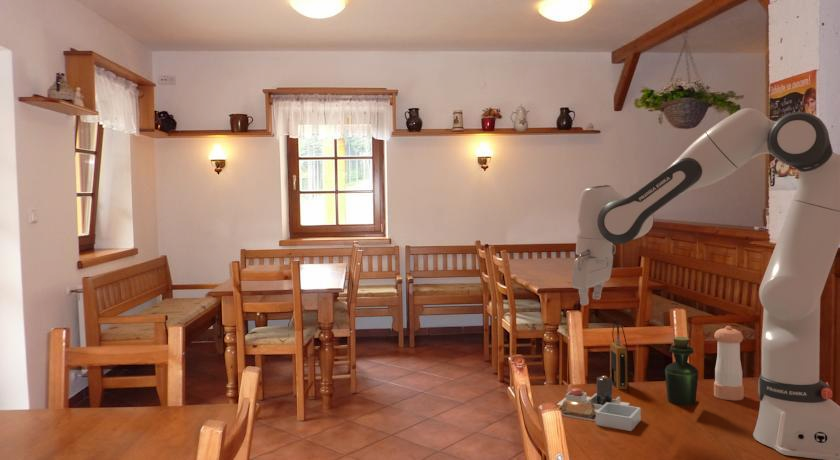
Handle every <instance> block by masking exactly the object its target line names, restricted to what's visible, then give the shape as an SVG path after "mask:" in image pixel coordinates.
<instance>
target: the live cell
mask: <svg viewBox="0 0 840 460" xmlns="http://www.w3.org/2000/svg"><path fill="white" fill-rule="evenodd" d="M561 413H562V414H567V415H573V416H579V417H584V418H590V419H592V417H594V415H596V413H595V407H594V405H593V404H588V403H582V402H576V401H570V400H564V402H563V404H562V408H561Z"/></svg>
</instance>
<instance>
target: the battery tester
mask: <svg viewBox="0 0 840 460" xmlns="http://www.w3.org/2000/svg"><path fill="white" fill-rule="evenodd" d="M564 400H570V401H576V402H582V403H588V404H593V405H594V407H595V411H598V410H599V409H600V408H601V407H602V406H603V405H599V404H597V392H596V393H594V394H593V395H592V396H588V394H587V392H584V391H582V395H581V396H574V395H571V390H570V391H568V392H567V393H565V397H564V398H563V399H562V400H560V401H559V402H558V403H556V405H557V406H560V405H562V404H563V402H564ZM612 403H615V404H621V405H627V406H630V404H631V403H630V402H626V401H625V402H624V401H621V396H617V397H615V399H614V398H612Z"/></svg>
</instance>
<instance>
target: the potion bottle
mask: <svg viewBox="0 0 840 460" xmlns="http://www.w3.org/2000/svg"><path fill="white" fill-rule="evenodd" d="M689 341H690V338H689V337H686V336H674V337H673V342H674V345H671V346H670V348H669V351H668V352H670V353H672V354H673V356H674V360H675V361H673V362H671V363H669V364H667V365H666V366H665V369H664V374H665V376H664V377H665V385H666V387H665V388H666V396H667V402H669V403H670V404H673V405H676V406H684V407H685V406H693V405H696V401H697V400H696V399H697V392H698V381H699V380H698V379H699V370H698V369H697V367H696V366H694V365H692V364H691V363H690V362H688V360H689V357H690V354H691V355H692V354H693V353H694V348H693V347H692V346H690V345H689Z"/></svg>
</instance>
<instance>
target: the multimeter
mask: <svg viewBox="0 0 840 460" xmlns="http://www.w3.org/2000/svg"><path fill="white" fill-rule="evenodd" d="M613 322H614V323H613V325H612V342H610V343H609V357H610V358H609V361H610V362H609V365H610V367H609V368H610V369H609V373H608V376H607V377H609V378H612V386H614V388H616V389H617V390H627V393H630V390H629V388H630V384H629V379H630V360H629V359H630V358H629V352H628V351H629V349H628V343H627V339H626V335H625V330H624V328H623V325H622V324H621V323H620V322H619V323H617V321H616V319H613ZM615 325H616V341H615V338H614V331H615V330H614V329H615ZM620 327H621V330H622V334H623V338H624V342H625V345H624V344H622V343H621V340H620Z"/></svg>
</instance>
